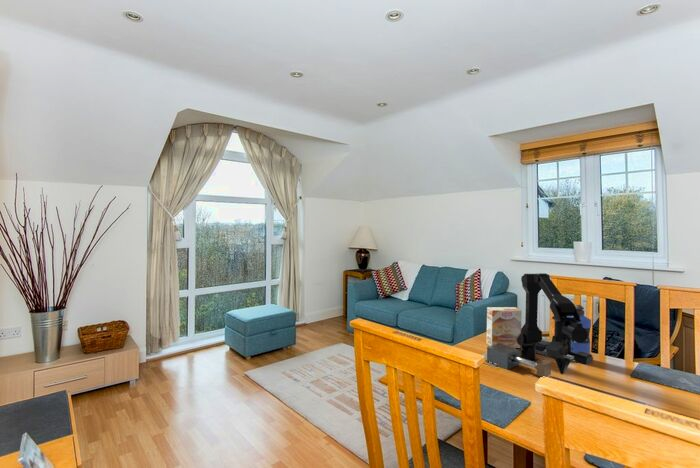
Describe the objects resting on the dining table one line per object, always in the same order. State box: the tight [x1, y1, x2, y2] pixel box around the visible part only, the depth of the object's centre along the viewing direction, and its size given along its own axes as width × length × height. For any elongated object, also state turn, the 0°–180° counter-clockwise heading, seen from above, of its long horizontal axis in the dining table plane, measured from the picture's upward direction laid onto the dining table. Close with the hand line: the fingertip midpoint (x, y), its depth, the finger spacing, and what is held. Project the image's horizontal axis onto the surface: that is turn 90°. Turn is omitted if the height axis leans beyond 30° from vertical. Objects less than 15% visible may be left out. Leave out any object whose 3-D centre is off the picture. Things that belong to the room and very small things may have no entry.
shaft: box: [511, 355, 552, 378], centre depth 147 cm, size 5×18×5 cm, turn 33°
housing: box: [486, 343, 521, 371], centre depth 156 cm, size 9×10×7 cm
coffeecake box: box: [486, 306, 522, 348], centre depth 177 cm, size 15×7×20 cm, turn 91°
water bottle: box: [566, 304, 592, 354], centre depth 160 cm, size 9×9×25 cm
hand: (562, 373), depth 135 cm, fingers closed
